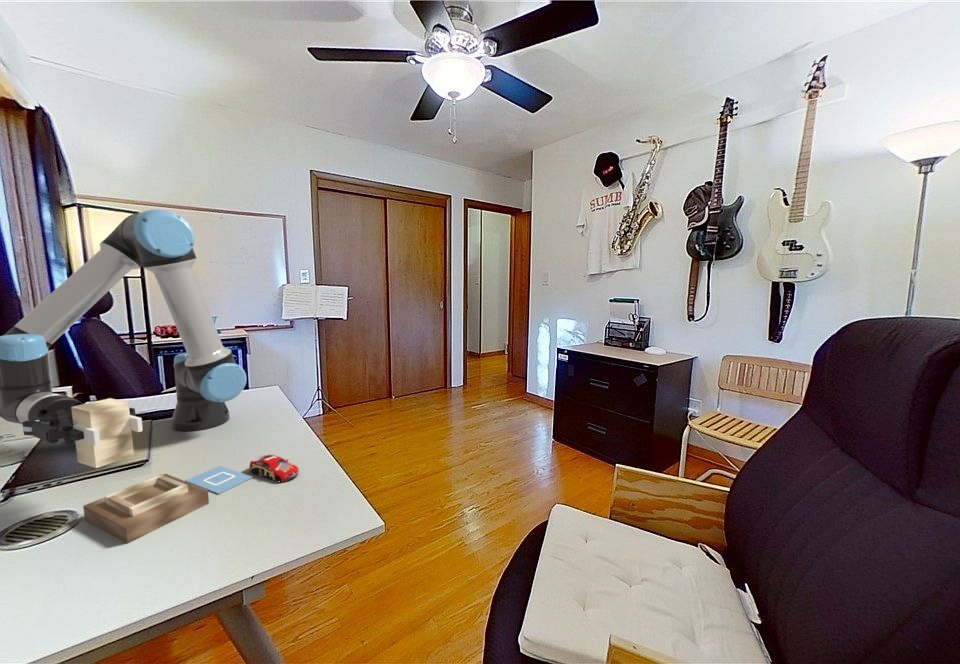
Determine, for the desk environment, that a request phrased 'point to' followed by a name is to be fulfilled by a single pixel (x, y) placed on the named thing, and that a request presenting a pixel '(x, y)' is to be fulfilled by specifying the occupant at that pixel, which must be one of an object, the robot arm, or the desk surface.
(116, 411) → the pillar
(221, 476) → the blueprint card
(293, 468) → the race car
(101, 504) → the base plate
